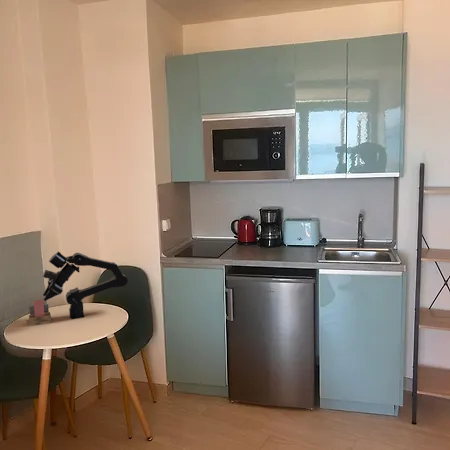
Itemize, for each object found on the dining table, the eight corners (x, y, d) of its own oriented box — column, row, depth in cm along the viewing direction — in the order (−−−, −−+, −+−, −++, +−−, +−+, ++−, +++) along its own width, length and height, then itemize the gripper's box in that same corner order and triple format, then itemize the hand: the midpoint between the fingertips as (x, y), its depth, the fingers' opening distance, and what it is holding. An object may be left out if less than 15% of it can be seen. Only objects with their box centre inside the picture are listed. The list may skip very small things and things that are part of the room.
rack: (50, 315, 245) (49, 303, 244) (51, 322, 234) (50, 309, 233) (29, 319, 241) (27, 306, 240) (29, 326, 230) (27, 312, 229)
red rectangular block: (44, 318, 238) (43, 299, 236) (45, 320, 234) (43, 301, 233) (35, 319, 236) (33, 300, 235) (35, 322, 233) (33, 302, 231)
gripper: (51, 260, 243) (30, 284, 240) (53, 267, 226) (30, 293, 223) (68, 273, 247) (48, 296, 244) (71, 281, 230) (49, 306, 227)
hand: (44, 298), depth 235 cm, fingers open, 9 cm apart
